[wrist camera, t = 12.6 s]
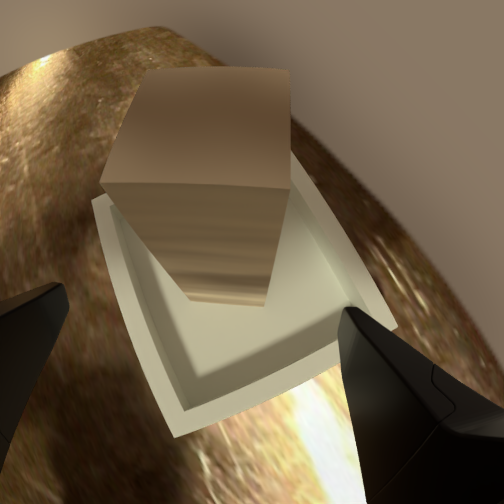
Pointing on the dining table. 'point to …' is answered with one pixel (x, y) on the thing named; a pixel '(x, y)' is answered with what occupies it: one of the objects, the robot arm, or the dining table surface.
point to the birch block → (207, 176)
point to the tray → (240, 314)
